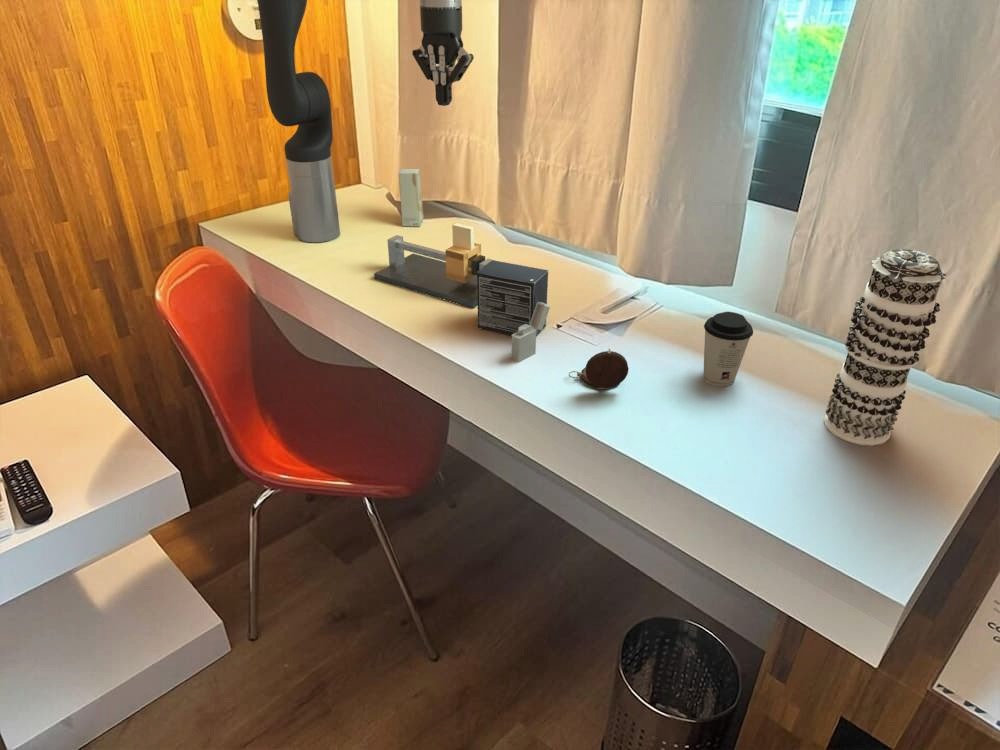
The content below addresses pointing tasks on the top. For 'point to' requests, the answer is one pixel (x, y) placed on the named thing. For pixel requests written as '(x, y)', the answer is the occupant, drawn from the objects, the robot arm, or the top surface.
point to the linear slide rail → (428, 273)
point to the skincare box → (411, 197)
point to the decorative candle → (884, 345)
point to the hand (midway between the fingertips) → (444, 104)
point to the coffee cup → (725, 347)
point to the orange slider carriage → (461, 253)
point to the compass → (604, 370)
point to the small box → (509, 296)
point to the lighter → (528, 334)
